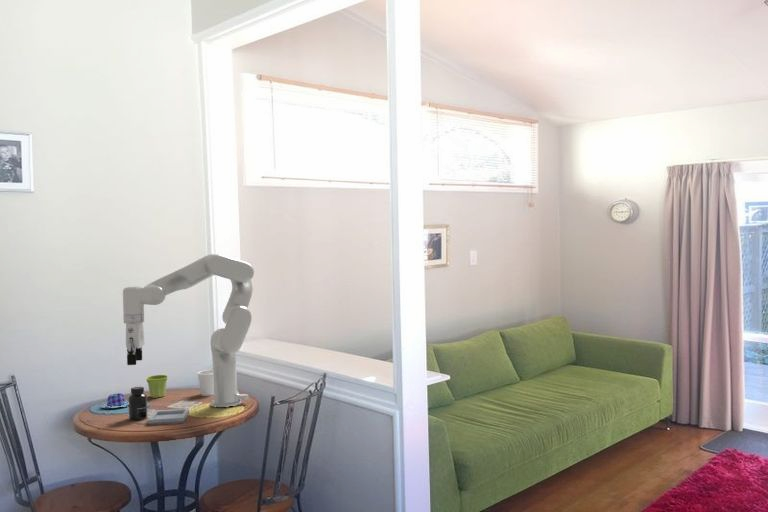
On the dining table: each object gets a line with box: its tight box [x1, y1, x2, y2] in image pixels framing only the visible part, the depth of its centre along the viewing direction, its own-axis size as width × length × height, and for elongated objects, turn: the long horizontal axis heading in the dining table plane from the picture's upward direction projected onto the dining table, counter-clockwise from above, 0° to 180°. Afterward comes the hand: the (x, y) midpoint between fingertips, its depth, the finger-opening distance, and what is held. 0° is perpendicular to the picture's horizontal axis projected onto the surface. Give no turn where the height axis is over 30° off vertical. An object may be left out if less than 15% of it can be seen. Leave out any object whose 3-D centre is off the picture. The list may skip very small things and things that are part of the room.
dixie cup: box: [196, 369, 214, 397], centre depth 297 cm, size 8×8×10 cm
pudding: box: [106, 392, 127, 407], centre depth 280 cm, size 12×12×5 cm
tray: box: [147, 408, 190, 426], centre depth 258 cm, size 13×13×2 cm
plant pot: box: [145, 374, 169, 399], centre depth 296 cm, size 9×9×9 cm
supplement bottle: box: [127, 386, 148, 421], centre depth 260 cm, size 7×7×12 cm
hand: (134, 362), depth 260 cm, fingers open, 9 cm apart
